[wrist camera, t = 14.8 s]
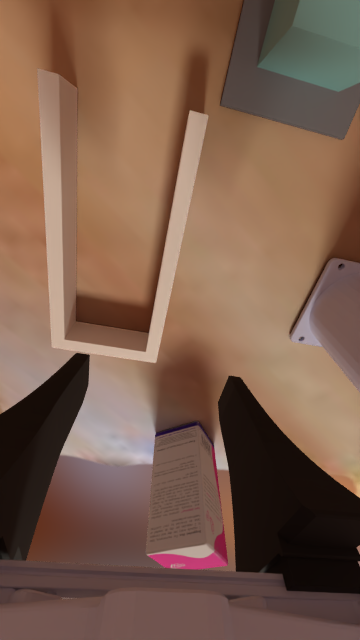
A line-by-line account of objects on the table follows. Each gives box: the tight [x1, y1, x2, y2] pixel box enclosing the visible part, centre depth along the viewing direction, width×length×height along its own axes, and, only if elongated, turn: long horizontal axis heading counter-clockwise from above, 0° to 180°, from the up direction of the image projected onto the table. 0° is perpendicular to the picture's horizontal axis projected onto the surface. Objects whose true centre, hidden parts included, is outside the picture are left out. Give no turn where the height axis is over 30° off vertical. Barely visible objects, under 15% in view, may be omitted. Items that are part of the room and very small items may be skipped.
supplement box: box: [146, 421, 228, 570], centre depth 27 cm, size 6×6×12 cm
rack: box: [37, 68, 209, 363], centre depth 18 cm, size 8×17×3 cm, turn 168°
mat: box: [220, 0, 360, 140], centre depth 14 cm, size 8×8×1 cm
